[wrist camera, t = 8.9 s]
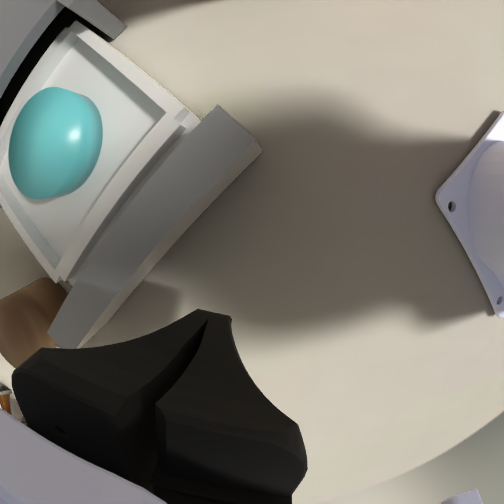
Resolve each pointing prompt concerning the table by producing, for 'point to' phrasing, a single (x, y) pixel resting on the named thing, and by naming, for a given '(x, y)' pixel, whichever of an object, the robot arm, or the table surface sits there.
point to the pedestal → (29, 319)
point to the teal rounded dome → (54, 143)
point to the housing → (42, 27)
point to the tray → (119, 180)
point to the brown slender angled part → (7, 402)
